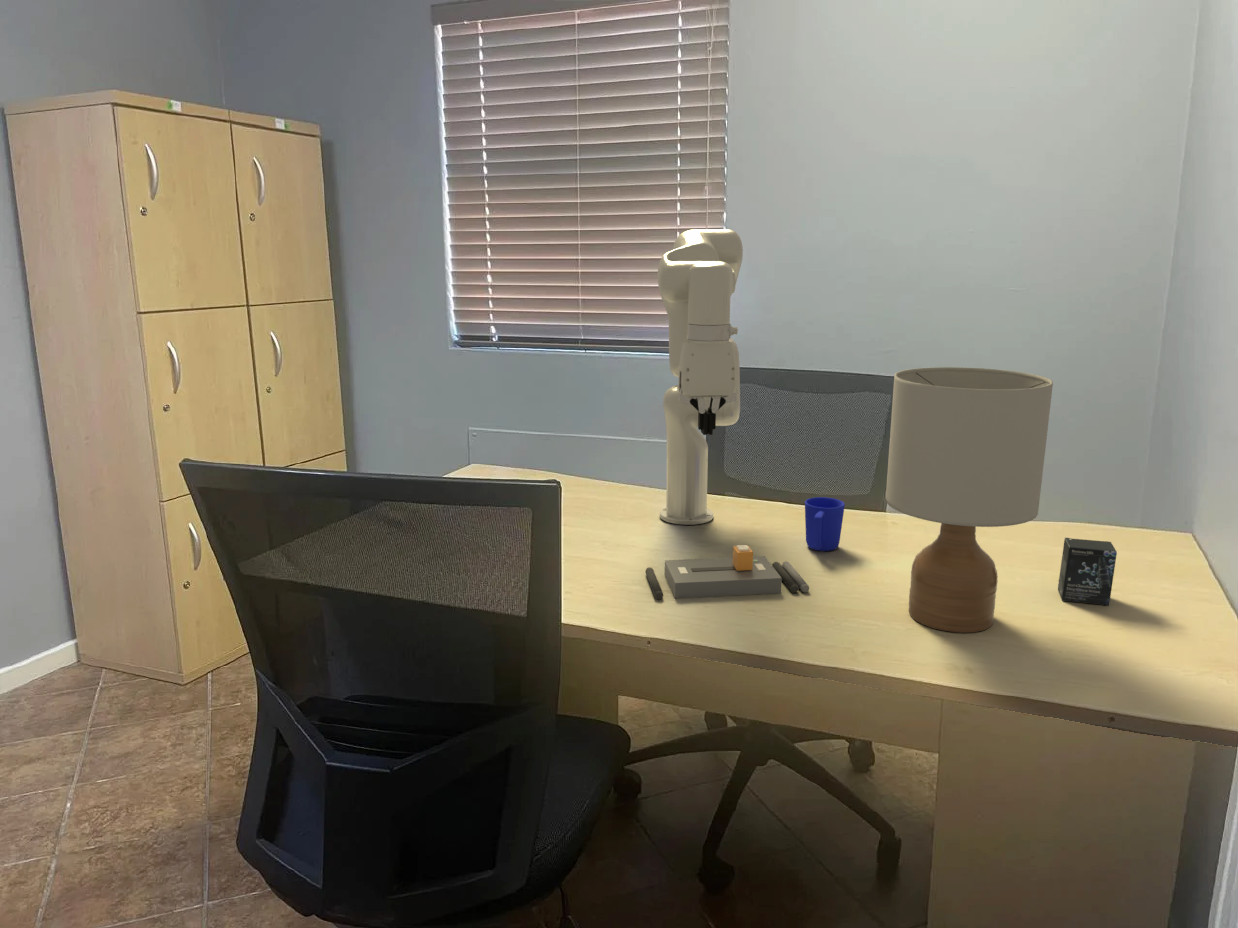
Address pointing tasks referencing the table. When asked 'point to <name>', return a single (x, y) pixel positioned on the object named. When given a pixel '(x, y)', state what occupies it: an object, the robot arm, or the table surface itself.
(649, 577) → the dark grey rounded rod
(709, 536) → the table surface
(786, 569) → the light grey rod
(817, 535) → the mug
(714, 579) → the slider switch box
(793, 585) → the grey capsule
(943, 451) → the lamp
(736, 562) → the block
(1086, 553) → the box
